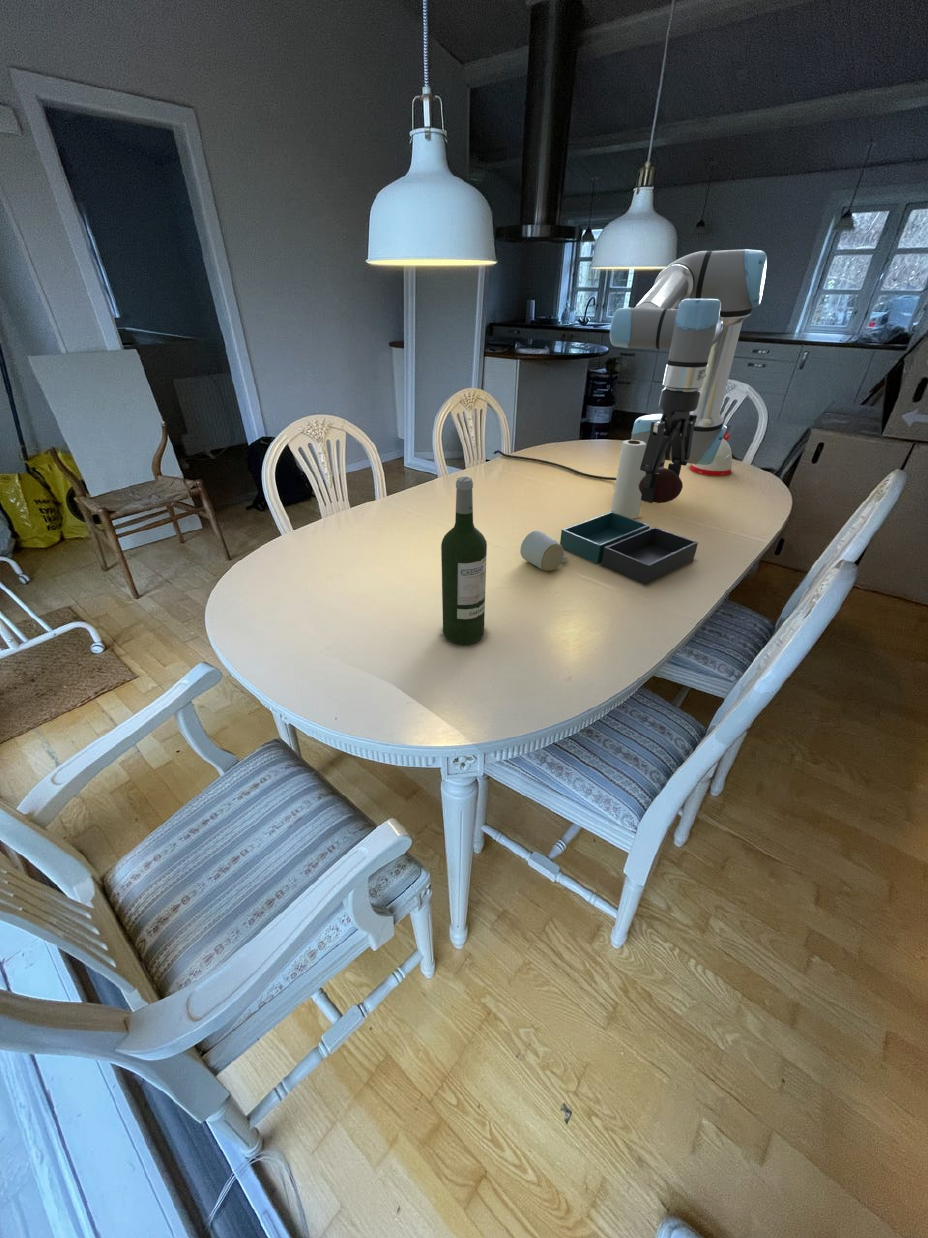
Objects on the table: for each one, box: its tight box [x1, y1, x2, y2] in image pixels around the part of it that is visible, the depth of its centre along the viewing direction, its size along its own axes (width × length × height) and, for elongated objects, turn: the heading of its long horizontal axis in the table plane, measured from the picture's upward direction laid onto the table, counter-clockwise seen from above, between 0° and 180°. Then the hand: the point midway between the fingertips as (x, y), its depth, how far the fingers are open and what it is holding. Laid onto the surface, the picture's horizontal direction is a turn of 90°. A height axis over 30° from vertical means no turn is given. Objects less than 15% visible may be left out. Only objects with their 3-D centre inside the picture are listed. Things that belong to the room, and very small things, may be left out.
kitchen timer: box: [689, 430, 733, 477], centre depth 184 cm, size 14×14×15 cm
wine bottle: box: [440, 476, 488, 646], centre depth 89 cm, size 8×8×30 cm
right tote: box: [600, 526, 699, 586], centre depth 122 cm, size 12×20×5 cm, turn 129°
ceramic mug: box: [519, 530, 568, 572], centre depth 120 cm, size 11×8×8 cm
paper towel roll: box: [610, 439, 647, 519], centre depth 142 cm, size 7×6×21 cm
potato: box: [639, 467, 684, 504], centre depth 114 cm, size 8×9×8 cm
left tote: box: [559, 511, 651, 565], centre depth 130 cm, size 12×20×5 cm, turn 129°
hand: (657, 496), depth 115 cm, fingers closed on potato, 8 cm apart
